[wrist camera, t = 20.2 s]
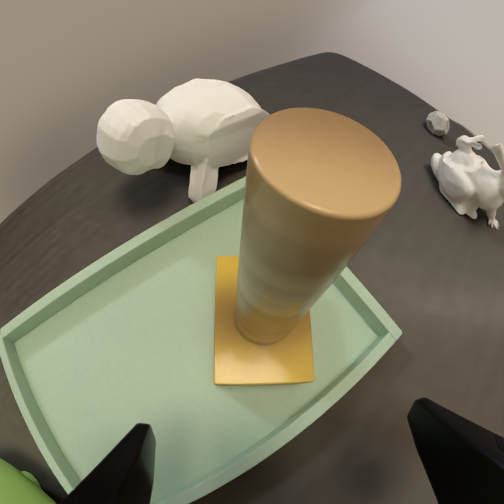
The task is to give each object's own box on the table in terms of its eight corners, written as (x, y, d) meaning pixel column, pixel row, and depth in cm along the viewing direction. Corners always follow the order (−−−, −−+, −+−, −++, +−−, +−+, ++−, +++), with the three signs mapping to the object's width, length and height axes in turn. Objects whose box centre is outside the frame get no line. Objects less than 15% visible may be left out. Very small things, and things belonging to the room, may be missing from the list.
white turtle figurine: (206, 141, 30) (78, 176, 19) (229, 70, 24) (83, 75, 14) (265, 181, 28) (130, 240, 17) (300, 104, 22) (144, 113, 11)
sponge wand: (300, 383, 16) (487, 328, 3) (216, 385, 15) (166, 355, 3) (294, 277, 19) (383, 86, 7) (218, 276, 19) (210, 63, 6)
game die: (429, 121, 33) (437, 106, 30) (447, 137, 32) (456, 123, 29) (419, 124, 32) (427, 108, 29) (437, 141, 31) (447, 126, 28)
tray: (112, 526, 10) (102, 537, 8) (9, 340, 15) (-7, 333, 13) (387, 339, 18) (403, 332, 16) (253, 188, 23) (255, 171, 21)
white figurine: (498, 225, 25) (545, 178, 16) (487, 261, 22) (547, 210, 14) (432, 158, 28) (469, 99, 20) (410, 181, 26) (455, 111, 17)
